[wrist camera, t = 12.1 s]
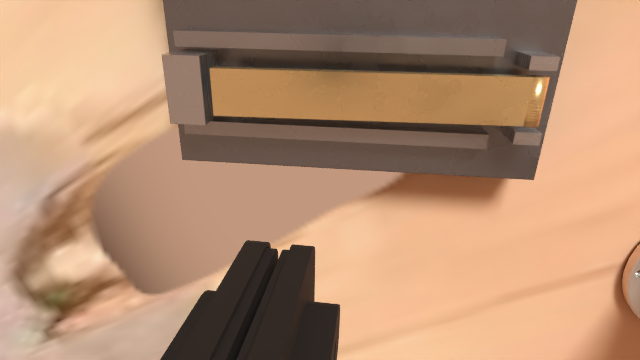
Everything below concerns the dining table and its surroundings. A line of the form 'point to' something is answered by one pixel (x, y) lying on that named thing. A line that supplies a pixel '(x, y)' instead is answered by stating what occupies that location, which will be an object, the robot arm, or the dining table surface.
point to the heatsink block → (367, 55)
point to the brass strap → (379, 96)
